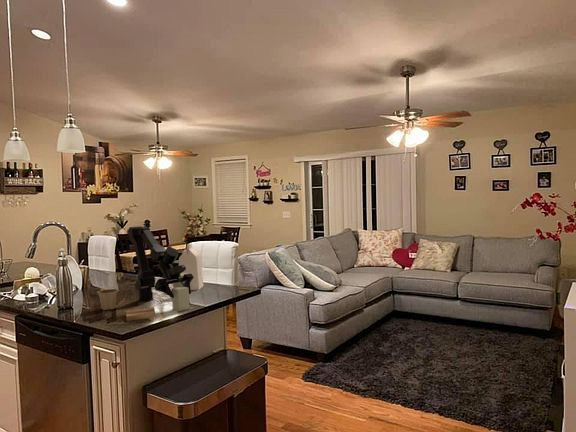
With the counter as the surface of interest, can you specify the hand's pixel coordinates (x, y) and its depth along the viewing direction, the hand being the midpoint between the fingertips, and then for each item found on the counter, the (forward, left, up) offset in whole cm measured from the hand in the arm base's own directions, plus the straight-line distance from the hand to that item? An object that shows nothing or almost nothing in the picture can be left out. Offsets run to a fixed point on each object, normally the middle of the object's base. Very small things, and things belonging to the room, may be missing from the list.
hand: (182, 295), depth 203 cm
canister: (-1, +1, -7) cm, 7 cm away
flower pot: (-39, -3, -7) cm, 40 cm away
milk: (-23, +48, -7) cm, 53 cm away
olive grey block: (-17, +28, -7) cm, 33 cm away
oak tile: (-13, -13, -7) cm, 20 cm away
